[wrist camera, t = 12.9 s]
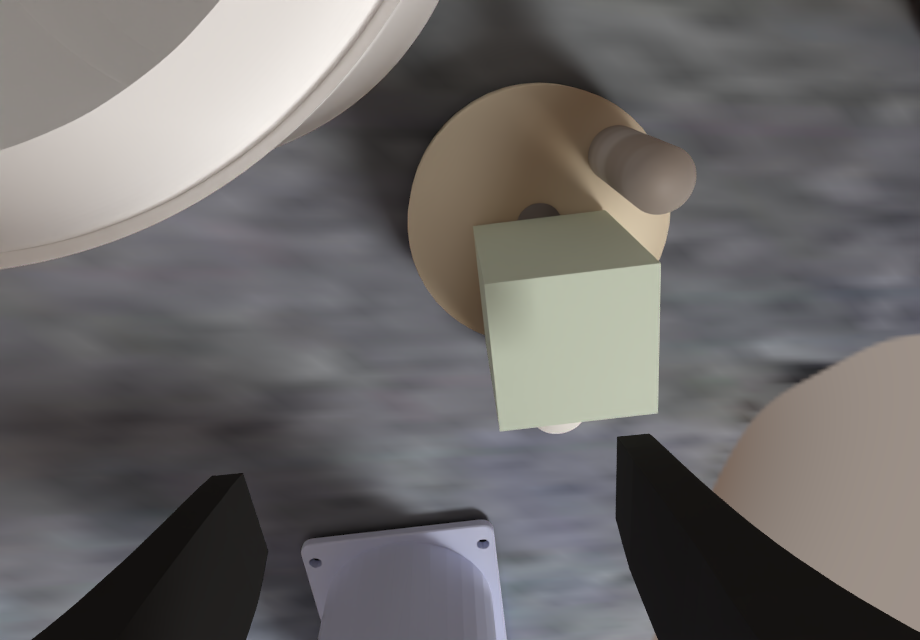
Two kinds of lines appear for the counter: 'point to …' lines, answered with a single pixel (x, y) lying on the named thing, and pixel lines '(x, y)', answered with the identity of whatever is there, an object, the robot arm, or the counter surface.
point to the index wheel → (535, 180)
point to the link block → (569, 319)
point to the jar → (167, 103)
